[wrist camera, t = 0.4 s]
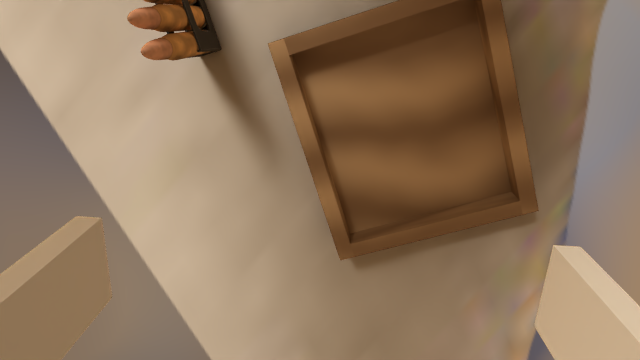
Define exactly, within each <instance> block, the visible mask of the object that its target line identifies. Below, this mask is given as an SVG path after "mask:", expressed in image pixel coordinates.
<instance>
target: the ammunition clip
mask: <svg viewBox="0 0 640 360" xmlns="http://www.w3.org/2000/svg"><path fill="white" fill-rule="evenodd" d="M144 1H146V2H151V3H155V4H156V5H154V6H152V7H144V8H138V9H135V10H133V11H132V12H130V13H129V15H128V17H127V19H128V21H129V22H130V23H131V24H132V25H134V26H136V27H138V28H143V29H151V30H156V31H160V32H167V34H166V35H165V36H163V37H162V38H158V39H154V40H152V41H149V42H148V43H146V44H145V45H144V46H143V47H142V49H141V53H142V55H143V56H144V57H146V58H148V59H152V60H165V59H169V60H179V59H183V58H190V57H200V56H204V55H207V54H210V53H213V52H216V51H219V50H221V46H220V43H219V40H218V38H217V35H216V32H215V29H214V26H213V23H212V21H211V18H210V15H209V12H208V9H207V7H206V4H205V1H204V0H144ZM169 4H173V5H169ZM184 30H185V32H180V33H174V31H184Z"/></svg>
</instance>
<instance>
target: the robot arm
mask: <svg viewBox="0 0 640 360" xmlns="http://www.w3.org/2000/svg"><path fill="white" fill-rule="evenodd" d="M111 298H112V292H111V284H110V277H109V269H108V261H107V253H106V246H105V239H104V231H103V223H102V218H98V217H82V216H76V217H75V218H74V219H72V220H71V221H69V222H68V223H67V224H66V225H64V226H63V227H62V228H60V229H59V230H58V231H56V232H55V233H54V234H52V235H51V236H50V237H48V238H47V239H46V240H44V241H43V242H42V243H41V244H39V245H38V246H37V247H35V248H34V249H33V250H31V251H30V252H29V253H27V254H26V255H25V256H23V257H22V258H21V259H20V260H18V261H17V262H16V263H14V264H13V265H12V266H10V267H9V268H8V269H6V270H5V271H4V272H2V273H1V274H0V360H61V359H62V358H63V357H64V356H65V355H66V353H67V352H68V351H69V350H70V348H71V347H72V346H73V345H74V344H75V342H76V341H77V340H78V339H79V337H80V336H81V335H82V334H83V332H84V331H85V330H86V329H87V327H88V326H89V325H90V324H91V323H92V321H93V320H94V319H95V318H96V317H97V315H98V314H99V313H100V312H101V310H102V309H103V308H104V307H105V306H106V304H107V303H108V302H109V301H110V299H111ZM534 326H535V328H536V329H537V331H538V333H539V334H540V336H541V338H542V340H543V341H544V343H545V345H546V346H547V348H548V350H549V351H550V353H551V355H552V356H553V358H554V359H555V360H640V306H639V305H638V304H637V303H636V302H635V301H634V300H633V299H632V298H631V297H630V296H629V295H628V294H627V293H626V292H625V291H624V290H623V289H622V288H621V287H620V286H619V285H618V284H617V283H616V282H615V281H614V280H613V279H612V278H611V277H610V276H609V275H608V274H607V273H606V272H605V271H604V270H603V269H602V268H601V267H600V266H599V265H598V264H597V263H596V262H595V261H594V260H593V259H592V258H591V257H590V256H589V255H588V254H587V253H586V252H585V251H584V250H583V249H582V248H581V247H576V246H559V245H553V249H552V253H551V257H550V261H549V265H548V270H547V274H546V278H545V282H544V286H543V291H542V295H541V299H540V303H539V307H538V312H537V316H536V320H535V324H534Z"/></svg>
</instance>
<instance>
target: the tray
mask: <svg viewBox="0 0 640 360" xmlns="http://www.w3.org/2000/svg"><path fill="white" fill-rule="evenodd" d="M268 46H269V49H270V52H271V55H272V58H273V61H274V64H275V67H276V70H277V73H278V76H279V79H280V82H281V85H282V88H283V91H284V94H285V97H286V100H287V103H288V106H289V109H290V112H291V115H292V118H293V120H294V123H295V126H296V129H297V132H298V135H299V138H300V141H301V144H302V147H303V150H304V153H305V156H306V159H307V162H308V165H309V168H310V171H311V174H312V177H313V180H314V183H315V186H316V189H317V192H318V195H319V198H320V201H321V204H322V207H323V210H324V213H325V216H326V219H327V222H328V225H329V228H330V231H331V234H332V237H333V240H334V243H335V246H336V249H337V252H338V255H339V258H340V260H344V259H348V258H352V257H356V256H360V255H364V254H368V253H372V252H376V251H380V250H384V249H388V248H392V247H396V246H400V245H404V244H408V243H412V242H416V241H420V240H424V239H428V238H432V237H436V236H440V235H444V234H448V233H452V232H456V231H460V230H464V229H468V228H472V227H476V226H480V225H484V224H488V223H492V222H496V221H500V220H504V219H508V218H512V217H516V216H520V215H524V214H528V213H532V212H536V211H538V205H537V200H536V194H535V188H534V183H533V177H532V172H531V166H530V160H529V155H528V149H527V144H526V138H525V133H524V127H523V121H522V116H521V110H520V105H519V99H518V93H517V88H516V82H515V77H514V71H513V65H512V60H511V54H510V49H509V43H508V37H507V32H506V26H505V21H504V15H503V10H502V4H501V0H398V1H395V2H392V3H389V4H386V5H383V6H380V7H377V8H374V9H371V10H368V11H365V12H362V13H359V14H356V15H353V16H350V17H347V18H344V19H341V20H338V21H335V22H332V23H329V24H326V25H323V26H320V27H317V28H314V29H311V30H307V31H304V32H301V33H298V34H295V35H292V36H289V37H286V38H283V39H280V40H277V41H274V42H271V43H268Z"/></svg>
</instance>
